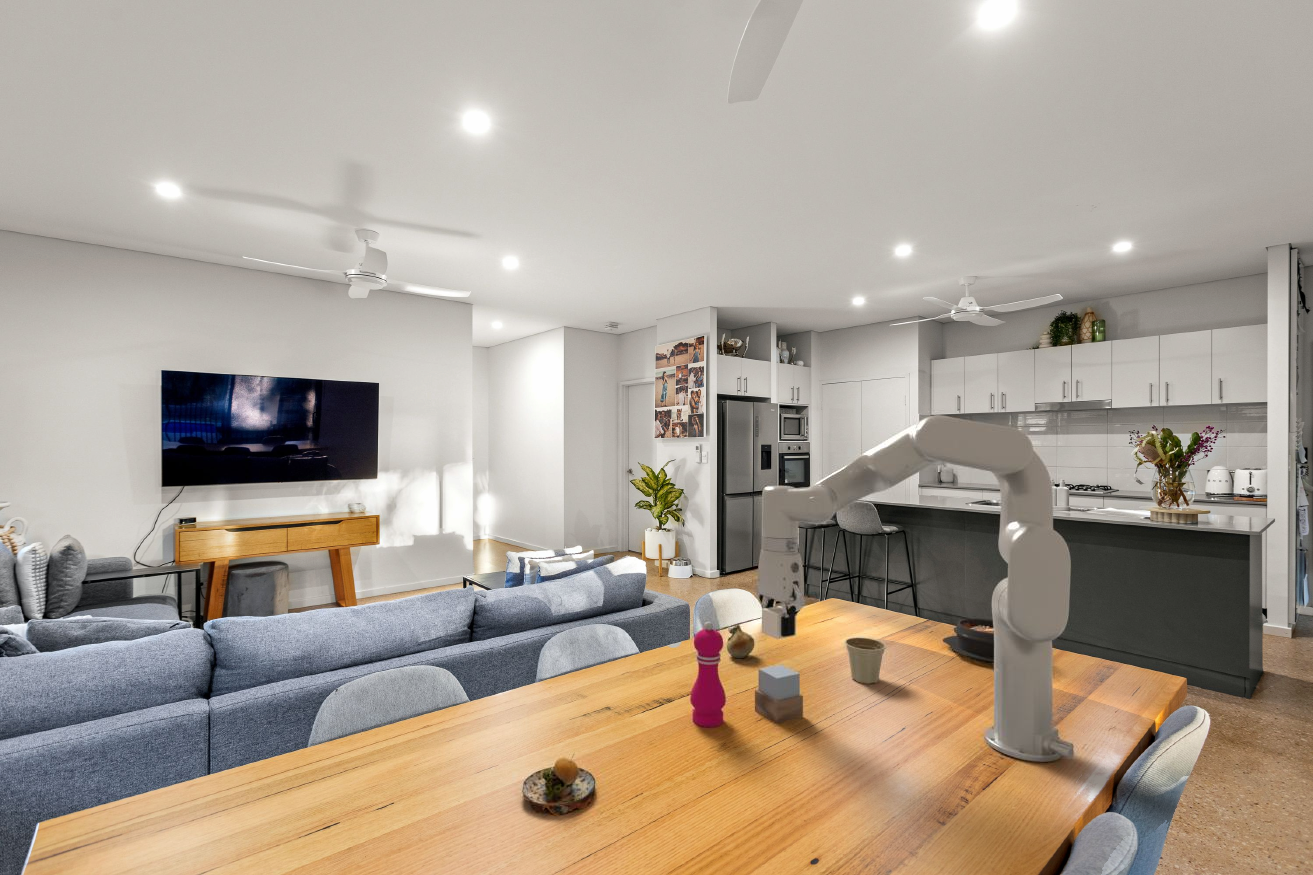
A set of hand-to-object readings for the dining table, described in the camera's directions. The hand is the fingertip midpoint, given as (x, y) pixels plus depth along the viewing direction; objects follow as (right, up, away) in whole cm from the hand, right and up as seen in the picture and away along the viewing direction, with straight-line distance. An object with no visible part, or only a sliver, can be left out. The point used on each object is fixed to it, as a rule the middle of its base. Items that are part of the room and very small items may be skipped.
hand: (778, 630), depth 132 cm
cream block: (0, -1, 0) cm, 1 cm away
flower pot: (+24, -18, +19) cm, 36 cm away
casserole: (+63, -18, +36) cm, 75 cm away
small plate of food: (-41, -17, -31) cm, 54 cm away
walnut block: (0, -17, 0) cm, 17 cm away
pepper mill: (-15, -17, -4) cm, 23 cm away
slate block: (0, -13, 0) cm, 13 cm away
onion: (-4, -18, +35) cm, 39 cm away
